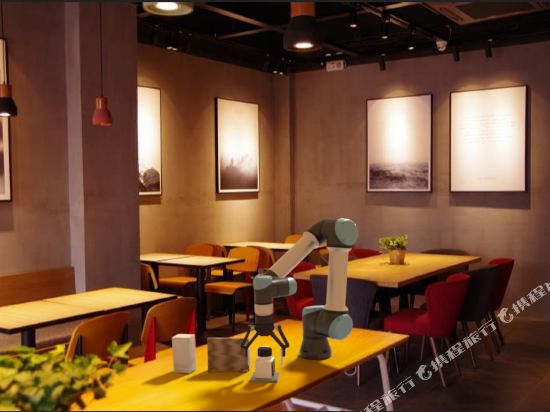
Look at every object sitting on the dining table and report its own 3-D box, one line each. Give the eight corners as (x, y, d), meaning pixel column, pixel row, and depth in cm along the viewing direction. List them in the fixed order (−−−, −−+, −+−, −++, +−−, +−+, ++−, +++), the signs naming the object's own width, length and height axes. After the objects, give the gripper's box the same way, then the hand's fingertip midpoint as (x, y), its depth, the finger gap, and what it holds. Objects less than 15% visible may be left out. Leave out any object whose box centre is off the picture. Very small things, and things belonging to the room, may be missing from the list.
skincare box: (196, 369, 260) (196, 334, 260) (189, 374, 254) (189, 337, 253) (179, 368, 263) (178, 333, 262) (172, 372, 256) (171, 336, 256)
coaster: (279, 374, 252) (279, 372, 252) (277, 382, 241) (277, 380, 241) (253, 373, 253) (253, 371, 253) (250, 382, 242) (250, 380, 242)
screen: (250, 368, 261) (249, 336, 260) (248, 372, 255) (247, 340, 254) (209, 367, 262) (209, 336, 262) (206, 372, 256) (206, 339, 256)
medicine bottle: (272, 379, 243) (271, 349, 242) (254, 378, 244) (254, 349, 244) (275, 373, 250) (274, 345, 249) (258, 373, 251) (258, 344, 251)
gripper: (294, 311, 249) (296, 361, 250) (235, 311, 251) (237, 361, 252) (293, 315, 241) (295, 367, 242) (232, 315, 244) (234, 367, 244)
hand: (265, 364), depth 247 cm, fingers open, 13 cm apart
